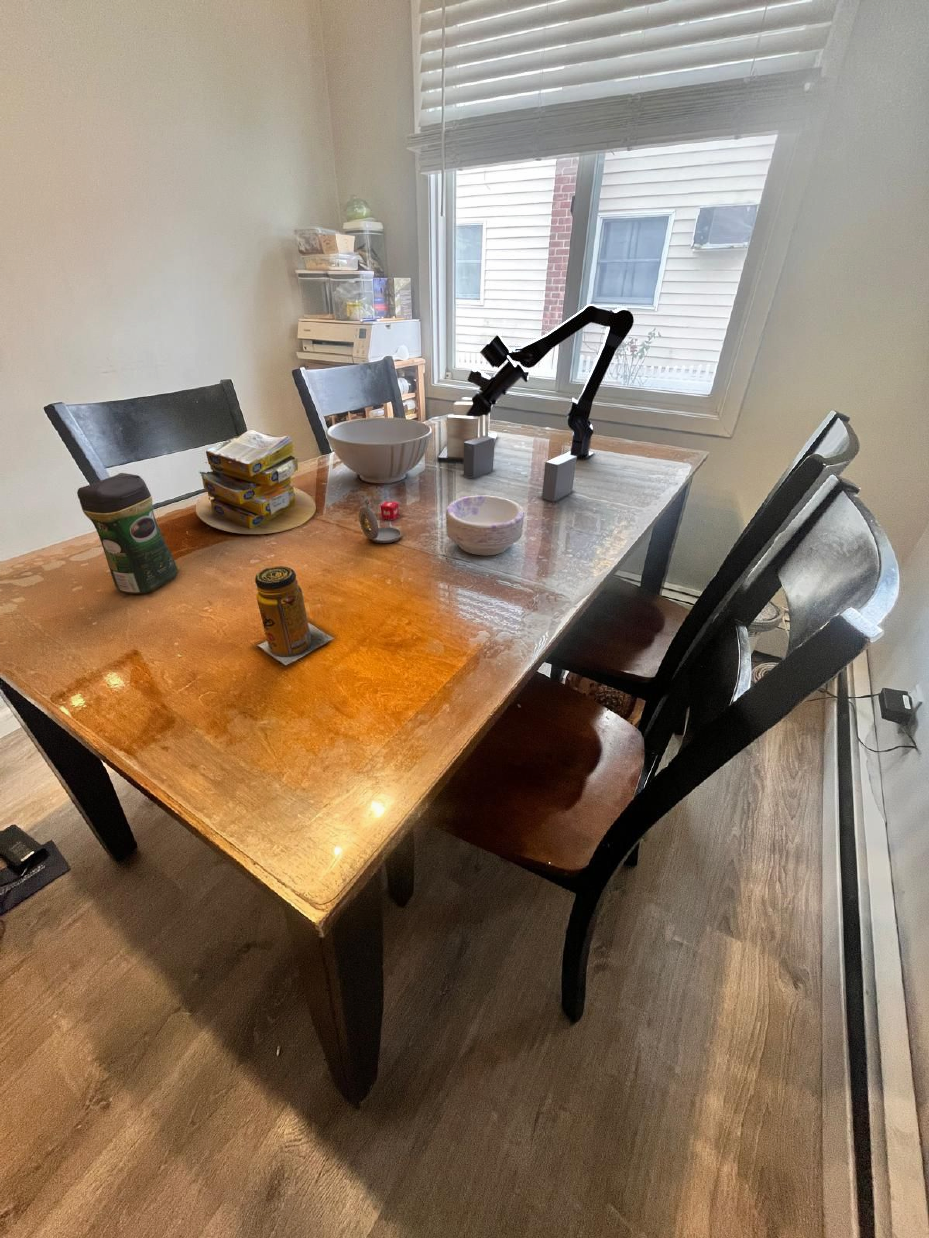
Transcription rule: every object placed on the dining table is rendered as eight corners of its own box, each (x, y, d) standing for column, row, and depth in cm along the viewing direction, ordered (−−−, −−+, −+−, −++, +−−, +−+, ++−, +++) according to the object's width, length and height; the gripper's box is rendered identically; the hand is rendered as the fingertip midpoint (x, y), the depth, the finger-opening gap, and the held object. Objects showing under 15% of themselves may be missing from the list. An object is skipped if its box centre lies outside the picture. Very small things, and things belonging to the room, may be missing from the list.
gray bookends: (483, 468, 146) (484, 435, 141) (572, 491, 131) (577, 456, 126) (463, 476, 140) (463, 442, 135) (553, 501, 125) (558, 464, 120)
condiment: (257, 646, 76) (238, 574, 69) (305, 621, 81) (292, 553, 74) (286, 666, 72) (268, 593, 65) (334, 639, 77) (323, 569, 71)
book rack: (496, 437, 173) (498, 398, 166) (485, 464, 149) (487, 420, 142) (455, 434, 175) (455, 396, 168) (437, 461, 150) (437, 417, 143)
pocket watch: (406, 534, 109) (404, 488, 103) (389, 550, 102) (385, 502, 96) (372, 528, 111) (367, 482, 105) (352, 544, 104) (346, 497, 99)
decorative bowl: (429, 494, 128) (427, 445, 121) (321, 492, 128) (314, 443, 121) (435, 461, 150) (434, 418, 143) (343, 459, 150) (338, 416, 143)
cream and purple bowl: (509, 569, 97) (512, 529, 92) (434, 555, 101) (433, 517, 96) (529, 536, 108) (532, 500, 104) (461, 525, 113) (462, 490, 108)
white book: (485, 443, 162) (485, 402, 155) (483, 446, 159) (483, 404, 152) (457, 442, 163) (456, 401, 157) (454, 445, 160) (453, 404, 154)
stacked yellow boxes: (338, 509, 119) (328, 435, 110) (246, 547, 102) (225, 463, 93) (269, 487, 131) (255, 418, 121) (176, 518, 114) (152, 441, 104)
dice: (393, 520, 115) (392, 507, 113) (381, 518, 115) (380, 505, 114) (399, 515, 117) (398, 502, 115) (387, 513, 118) (386, 500, 116)
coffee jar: (153, 566, 95) (116, 466, 85) (187, 573, 93) (153, 472, 83) (107, 591, 88) (61, 485, 77) (143, 600, 86) (100, 492, 75)
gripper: (488, 354, 154) (452, 392, 162) (480, 363, 139) (440, 404, 147) (513, 383, 158) (476, 419, 165) (507, 395, 143) (467, 434, 150)
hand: (465, 418), depth 157 cm, fingers closed on white book, 4 cm apart
